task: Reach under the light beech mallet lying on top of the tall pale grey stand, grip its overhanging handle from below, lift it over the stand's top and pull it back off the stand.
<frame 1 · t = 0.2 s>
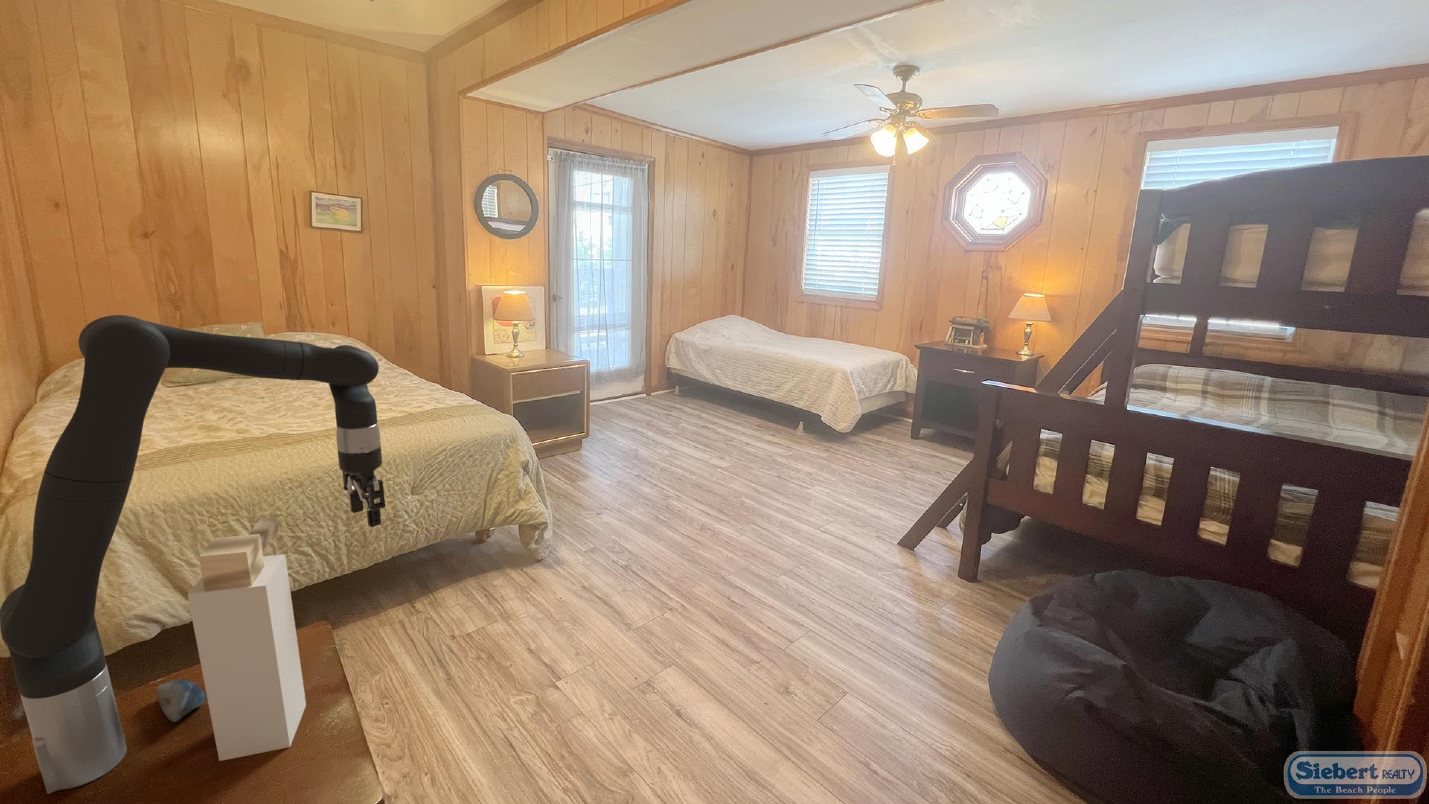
hand: (366, 518, 123), 29 cm above the table, fingers open, 8 cm apart
blue rounded lump: (178, 709, 109), on the table
stand: (265, 731, 105), on the table
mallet: (236, 577, 95), point 32 cm above the table, touching stand
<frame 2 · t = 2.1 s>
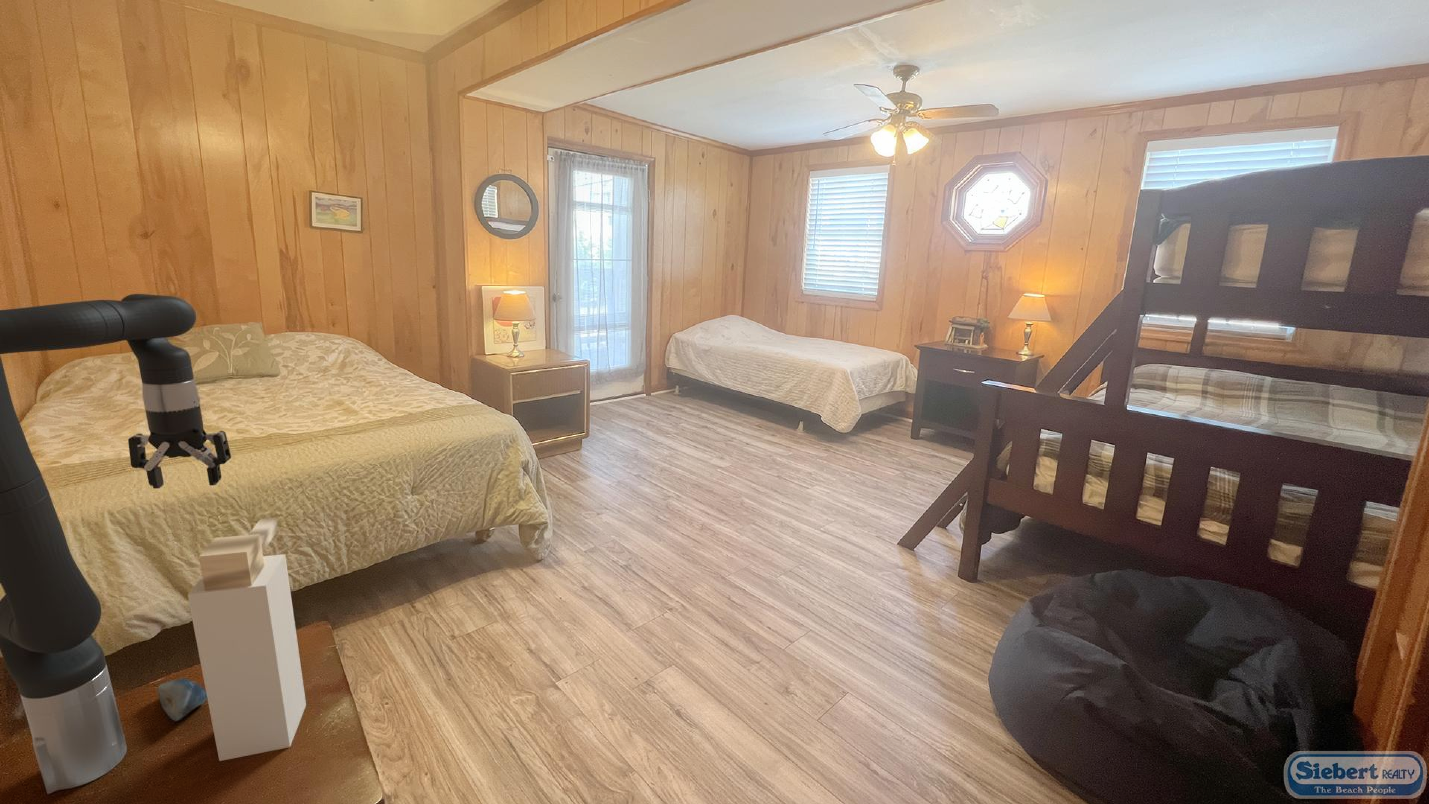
hand: (187, 485, 112), 38 cm above the table, fingers open, 8 cm apart
nothing on the table moved.
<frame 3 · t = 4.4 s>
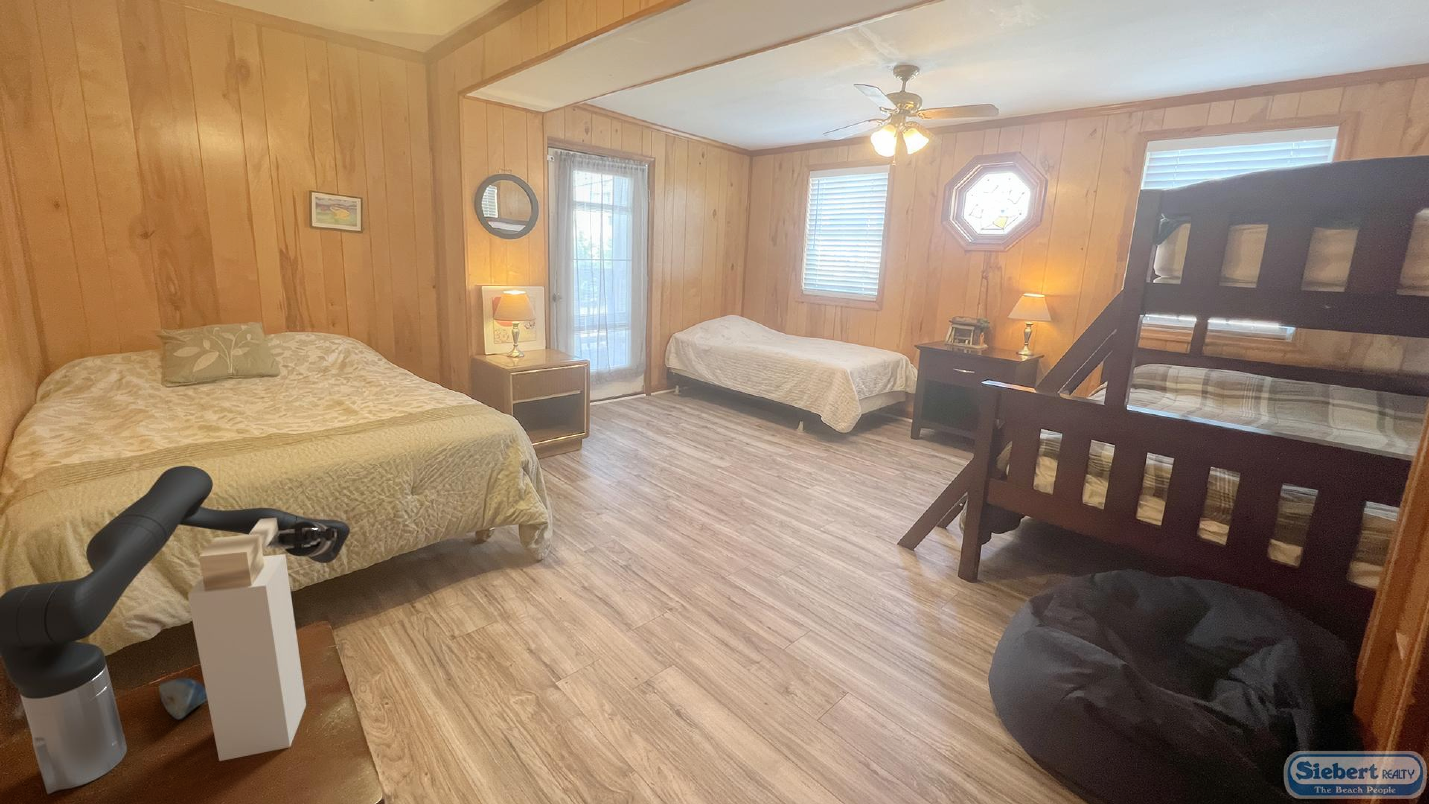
hand: (284, 536, 117), 27 cm above the table, fingers open, 8 cm apart
nothing on the table moved.
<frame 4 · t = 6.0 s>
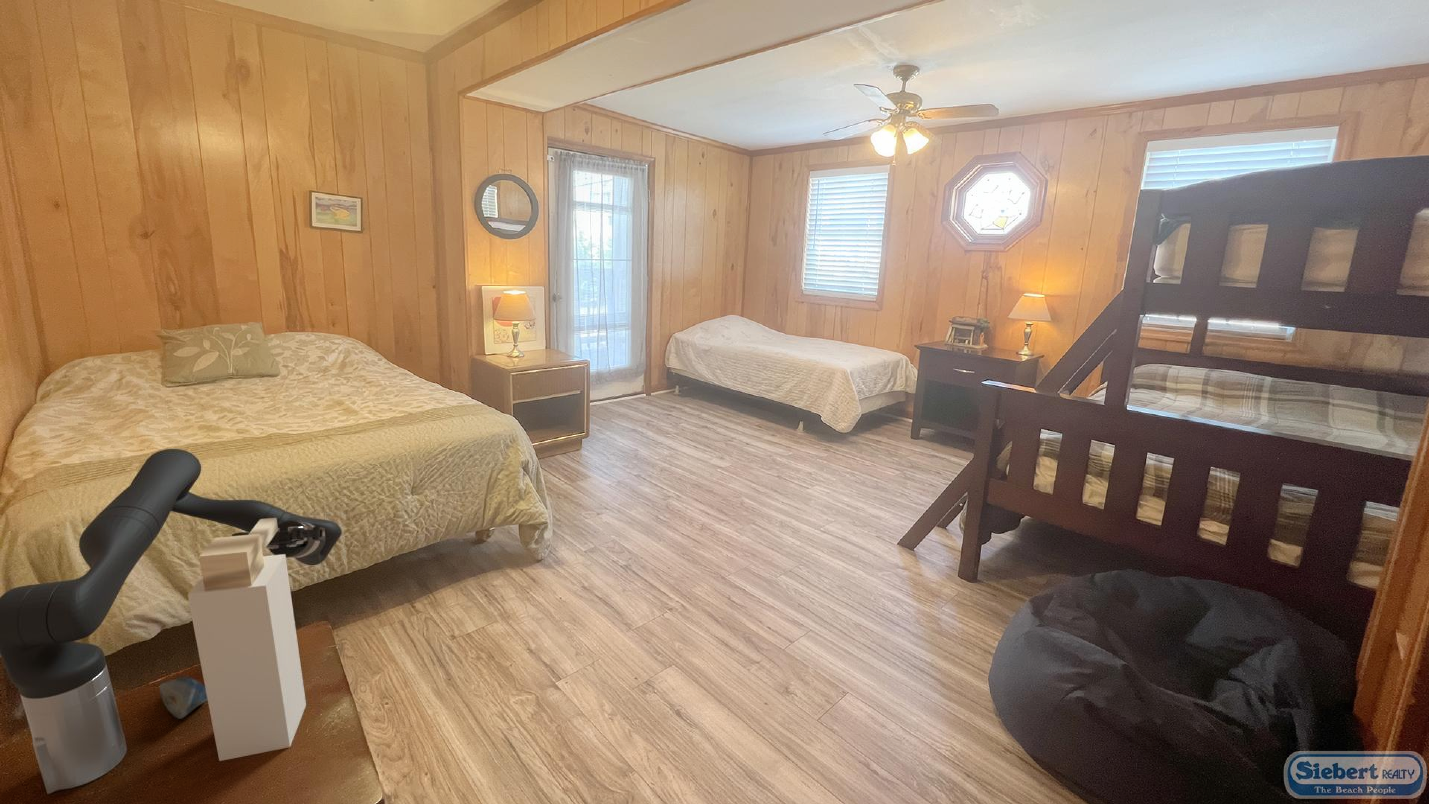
hand: (267, 535, 109), 32 cm above the table, fingers open, 8 cm apart
nothing on the table moved.
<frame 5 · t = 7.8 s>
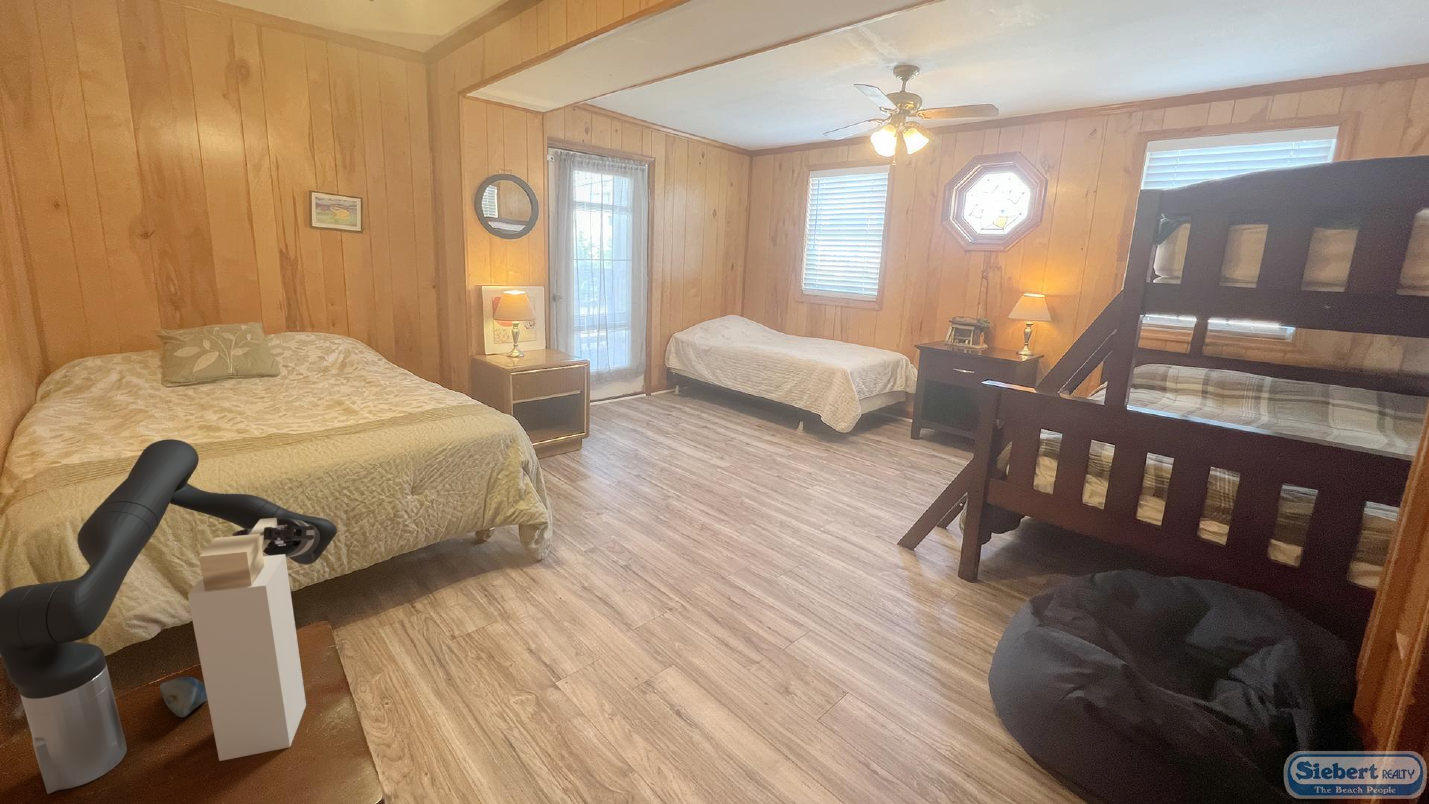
hand: (255, 534, 104), 35 cm above the table, fingers closed on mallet, 2 cm apart
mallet: (236, 577, 95), point 32 cm above the table, touching gripper, stand
everything else where it was.
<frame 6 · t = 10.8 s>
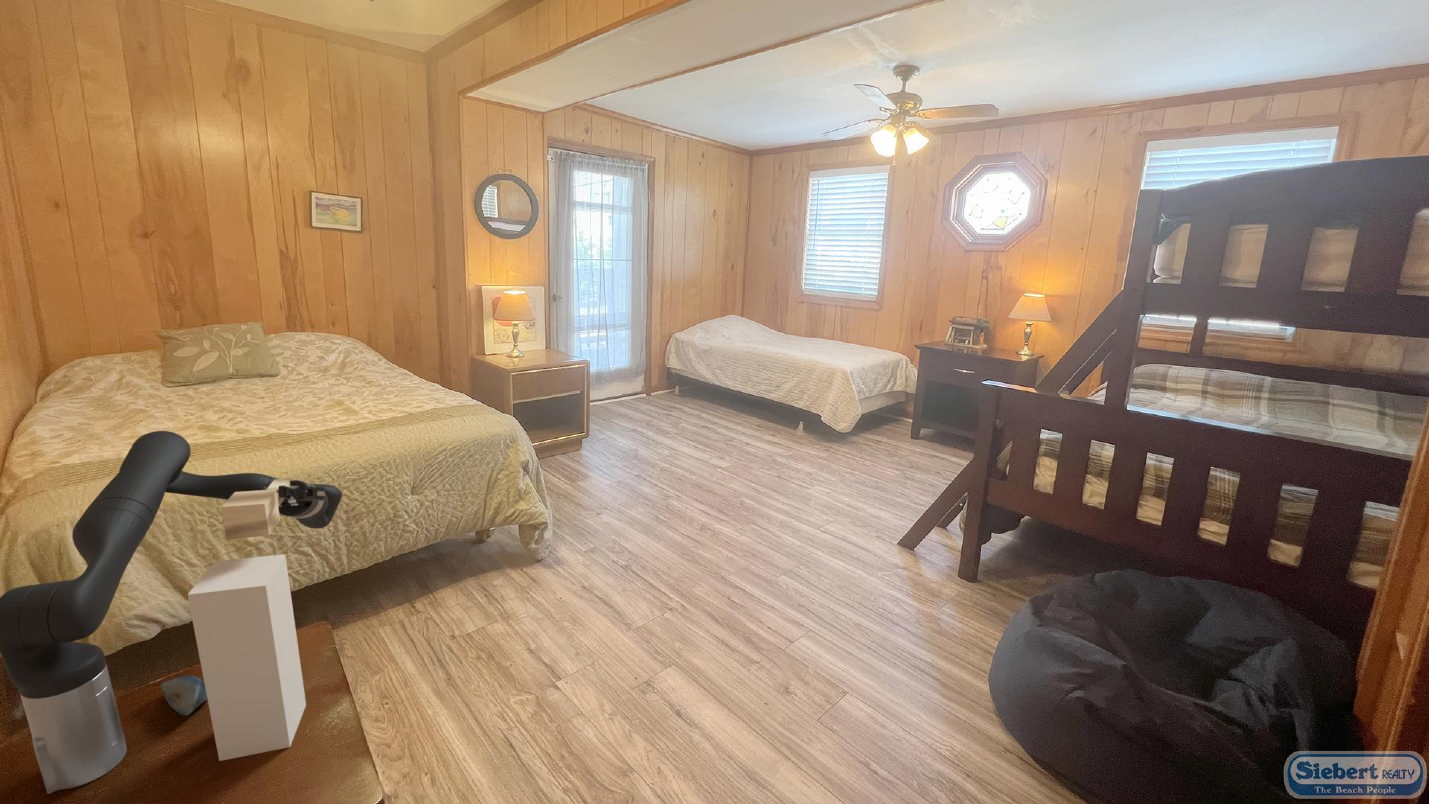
hand: (271, 491, 111), 39 cm above the table, fingers closed on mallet, 2 cm apart
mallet: (254, 529, 103), point 36 cm above the table, touching gripper
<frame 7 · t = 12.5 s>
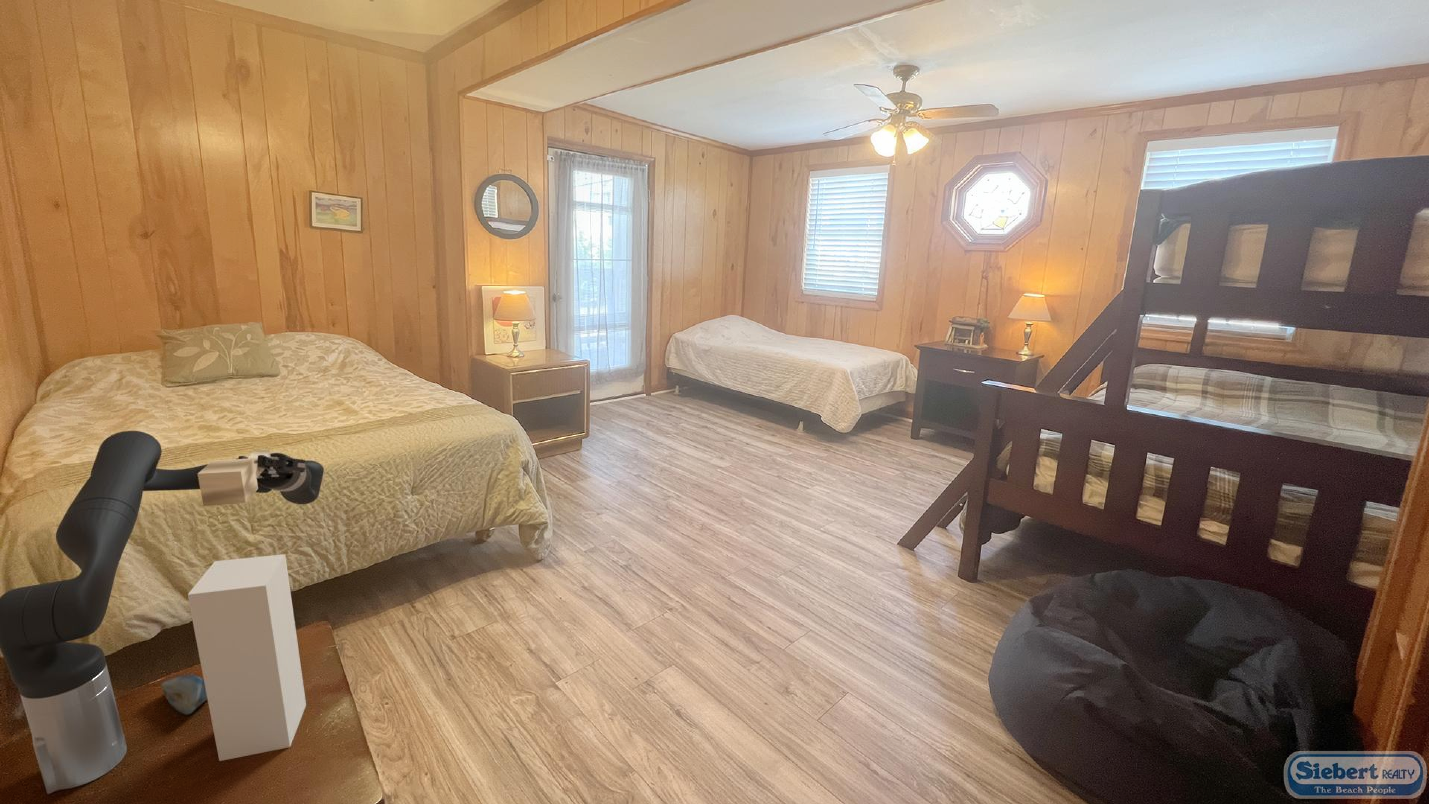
hand: (250, 460, 113), 43 cm above the table, fingers closed on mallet, 2 cm apart
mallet: (231, 497, 104), point 40 cm above the table, touching gripper
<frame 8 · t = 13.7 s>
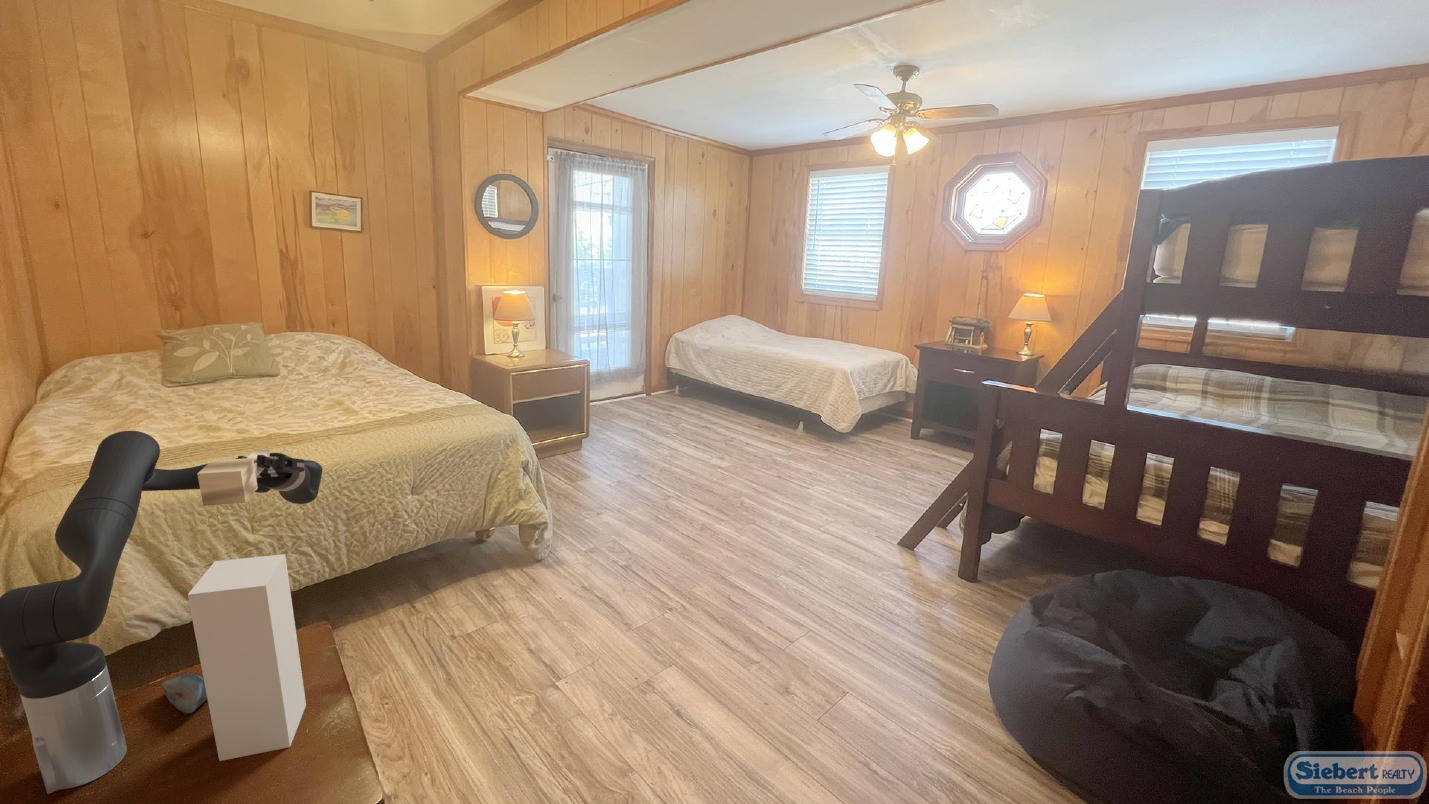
hand: (249, 460, 113), 43 cm above the table, fingers closed on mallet, 2 cm apart
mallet: (231, 496, 104), point 40 cm above the table, touching gripper
at the end: the gripper is holding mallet; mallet touching gripper; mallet point 40.3 cm above the table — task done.
